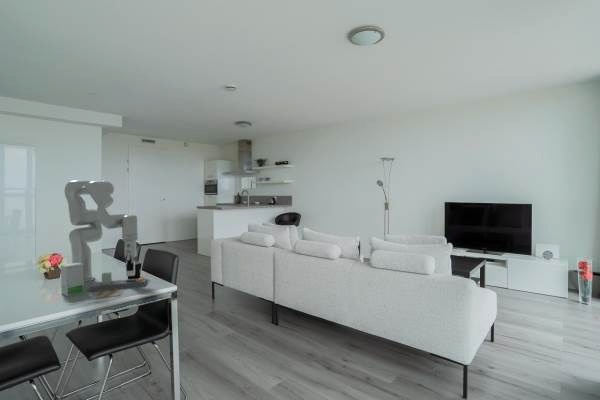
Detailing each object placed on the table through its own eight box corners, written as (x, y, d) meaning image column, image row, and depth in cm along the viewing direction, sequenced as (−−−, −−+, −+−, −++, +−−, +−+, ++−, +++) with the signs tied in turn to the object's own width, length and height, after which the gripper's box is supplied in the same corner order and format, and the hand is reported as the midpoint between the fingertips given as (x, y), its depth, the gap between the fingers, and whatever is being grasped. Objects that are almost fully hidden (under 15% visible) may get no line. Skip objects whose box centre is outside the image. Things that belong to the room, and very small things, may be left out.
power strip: (90, 292, 168) (89, 285, 168) (94, 287, 176) (94, 281, 176) (144, 286, 177) (144, 280, 177) (146, 282, 184) (145, 276, 184)
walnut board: (95, 299, 157) (94, 298, 157) (100, 292, 168) (100, 291, 168) (120, 296, 161) (120, 295, 161) (124, 290, 171) (124, 289, 171)
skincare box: (66, 297, 161) (65, 266, 161) (60, 294, 165) (59, 265, 164) (84, 292, 168) (83, 263, 168) (78, 290, 172) (77, 261, 171)
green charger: (102, 289, 172) (101, 274, 172) (103, 287, 175) (103, 272, 175) (110, 288, 173) (110, 273, 173) (111, 286, 177) (111, 272, 176)
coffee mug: (135, 281, 187) (134, 265, 186) (122, 281, 189) (122, 264, 188) (148, 276, 198) (148, 260, 198) (136, 275, 200) (136, 260, 200)
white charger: (126, 276, 176) (125, 261, 176) (127, 274, 179) (126, 260, 179) (134, 275, 177) (134, 261, 177) (135, 274, 180) (134, 260, 180)
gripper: (135, 239, 171) (135, 272, 172) (139, 234, 186) (140, 265, 187) (119, 239, 168) (120, 274, 169) (125, 235, 184) (125, 266, 185)
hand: (130, 269), depth 178 cm, fingers closed on white charger, 3 cm apart
